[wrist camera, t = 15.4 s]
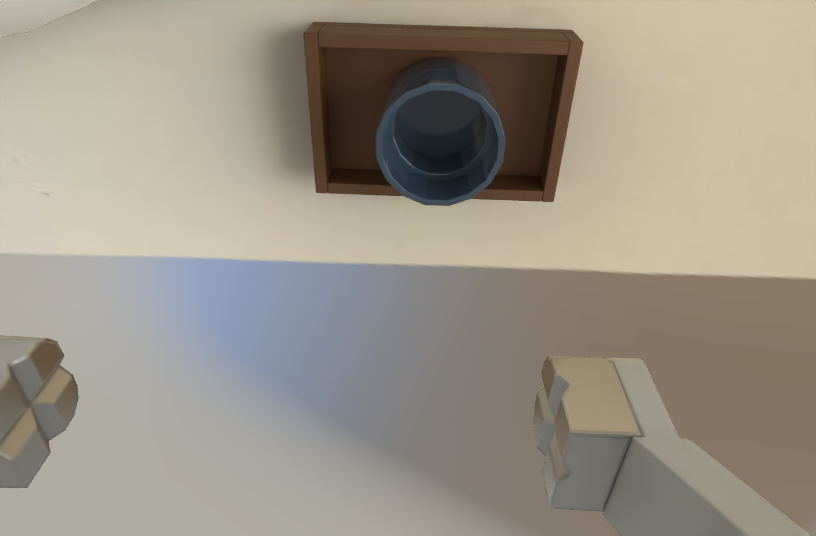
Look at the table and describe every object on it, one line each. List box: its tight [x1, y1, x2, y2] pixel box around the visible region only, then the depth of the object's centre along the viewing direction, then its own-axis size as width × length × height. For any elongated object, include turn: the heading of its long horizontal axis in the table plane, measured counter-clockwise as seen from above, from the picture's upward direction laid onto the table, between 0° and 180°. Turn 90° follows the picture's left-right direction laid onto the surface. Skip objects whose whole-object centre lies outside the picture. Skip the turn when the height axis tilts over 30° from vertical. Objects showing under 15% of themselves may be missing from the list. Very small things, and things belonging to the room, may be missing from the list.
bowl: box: [376, 58, 506, 206], centre depth 26 cm, size 6×6×4 cm
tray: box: [304, 22, 583, 202], centre depth 28 cm, size 12×8×2 cm, turn 89°
